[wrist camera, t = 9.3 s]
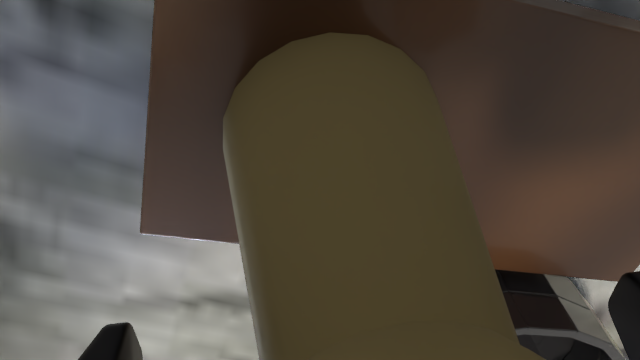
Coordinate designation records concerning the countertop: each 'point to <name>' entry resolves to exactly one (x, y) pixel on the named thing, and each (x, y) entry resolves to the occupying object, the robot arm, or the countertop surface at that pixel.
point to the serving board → (456, 105)
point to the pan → (555, 318)
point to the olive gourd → (357, 212)
